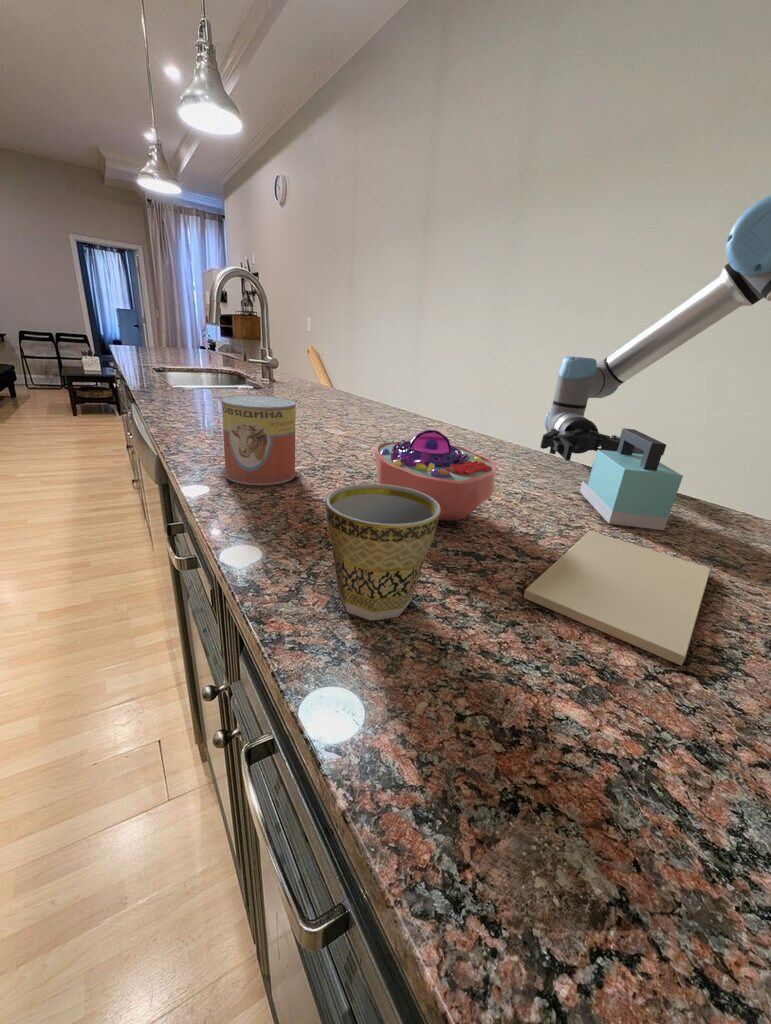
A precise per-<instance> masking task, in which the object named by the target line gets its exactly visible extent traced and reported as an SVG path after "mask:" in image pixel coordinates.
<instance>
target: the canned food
mask: <svg viewBox="0 0 771 1024" xmlns="http://www.w3.org/2000/svg"><path fill="white" fill-rule="evenodd" d="M220 402H221V413H222V415H221V417H222V433H223V434H222V436H223V437H222V438H223V452H224V453H223V455H224V457H223V458H224V477H225V478H226V479H227V480H229V481H231V482H233V483H237V484H240V485H247V486H274V485H281V484H285V483H288V482H290V481H292V480H294V479H295V477H296V414H297V413H296V410H297V409H296V406H297V402H296V401H295V400H293V399H290V398H285V397H280V396H272V395H258V394H256V395H255V394H242V395H241V394H239V395H229V396H224V397H222V398H221V399H220Z"/></svg>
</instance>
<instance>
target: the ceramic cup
mask: <svg viewBox="0 0 771 1024" xmlns="http://www.w3.org/2000/svg"><path fill="white" fill-rule="evenodd" d="M324 504H325V515H326V523H327V529H328V530H327V531H328V536H329V539H330V544H331V550H332V558H333V563H334V571H335V579H336V586H337V593H338V596H339V598H340V600H341V602H342V605H343V606H344V609H345V611H346V612H347V614H349V615H354V616H356V617H359V618H362V619H365V620H368V621H372V622H373V621H379V620H385V619H392V618H399V617H400V616H401V615H402V613H404V611H405V610H406V608H407V607H408V605H409V604H410V603H411V602H412V599H413V596H414V594H415V590H416V587H417V585H418V581H419V578H420V575H421V572H422V569H423V566H424V563H425V559H426V557H427V555H428V552H429V549H430V547H431V545H432V542H433V539H434V537H435V534H436V531H437V528H438V523H439V521H438V520H439V516H440V512H441V508H440V505H439V504H438V503H437V502H436V501H435V500H434V499H433V498H431V497H430V496H428V495H426V494H424V493H422V492H419V491H416V490H415V489H412V488H405V487H401V486H395V485H387V484H377V483H357V484H350V485H345V486H341V487H338V488H335V489H334V490H332V491H331V492H329V493H328V494H327V495H326V497H325V500H324Z"/></svg>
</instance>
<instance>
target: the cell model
mask: <svg viewBox="0 0 771 1024" xmlns="http://www.w3.org/2000/svg"><path fill="white" fill-rule="evenodd" d="M373 454H374V460H375V470H376V472H375V473H376V476H375V478H376V479H375V480H376V484H387V485H395V486H401V487H405V488H412V489H415V490H416V491H419V492H422V493H424V494H426V495H428V496H430V497H431V498H433V499H434V500H435V501H436V502H437V503H438V504H439V505H440V508H441V512H440V516H439V520H438V522H439V521H440V522H441V521H458V520H462V519H464V518H466V517H468V516H469V515H470V514H471V513H473V511H475V510H476V509H477V508H478V507H480V506H481V505H482V504H483V503H485V501H487V500H488V499H489V498H491V496H492V495H493V494H494V490H495V485H496V483H495V482H496V474H497V462H496V461H495V460H493V459H491V458H488V457H486V456H484V455H482V454H481V453H477V452H476V451H473V450H471V449H468V448H465V447H461V446H458V445H453V444H451V442H450V440H449V438H448V437H447V436H446V435H445V434H444V433H442V432H441V431H439V430H438V429H437V430H436V429H424V430H423V431H421V432H418V433H416V434H415V435H414V436H413V437H412V438H411V440H403V441H389V442H383V443H380V444H377V445H375V446H374V449H373Z"/></svg>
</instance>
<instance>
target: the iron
mask: <svg viewBox="0 0 771 1024" xmlns="http://www.w3.org/2000/svg"><path fill="white" fill-rule="evenodd" d="M619 437H620V438H621V439H620V443H619V446H618V450H617V452H616V451H606V450H597V451H596V454H595V457H594V460H593V462H592V466H591V468H590V473H589V477H588V481H585V480H582V481H581V484H580V488H579V493H580V494H581V495H582V496H583V497H584V498H585V499H586V500H587V502H588V503H589V504H590V505H591V506H592V507H593V508H594V509H595V510H596V511H597V513H598V514H599V515H600V516H601V518H603V519H604V520H605V521H606V522H607V523H608V524H609V525H617V526H624V527H625V526H626V527H632V528H633V527H634V528H642V529H648V530H649V529H650V530H659V531H665V529H666V526H667V524H668V520H669V517H670V515H671V512H672V509H673V505H674V503H675V500H676V497H677V494H678V492H679V489H680V486H681V483H682V480H683V478H684V475H682V474H681V473H679V472H677V471H676V470H674V469H672V468H671V467H669V466H667V465H666V464H663V463H662V462H661V458H662V456H664V454H665V451H666V448H667V444H666V443H664V442H662V441H660V440H658V439H656V438H654V437H651V436H649V435H647V434H645V433H644V432H641V431H639V430H637V429H633V428H625V427H624V428H623V427H622V429H621V432H620V436H619ZM634 446H636V447H637V448H639V449H641V450H643V451H644V453H643V454H634V453H633V449H634Z"/></svg>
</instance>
